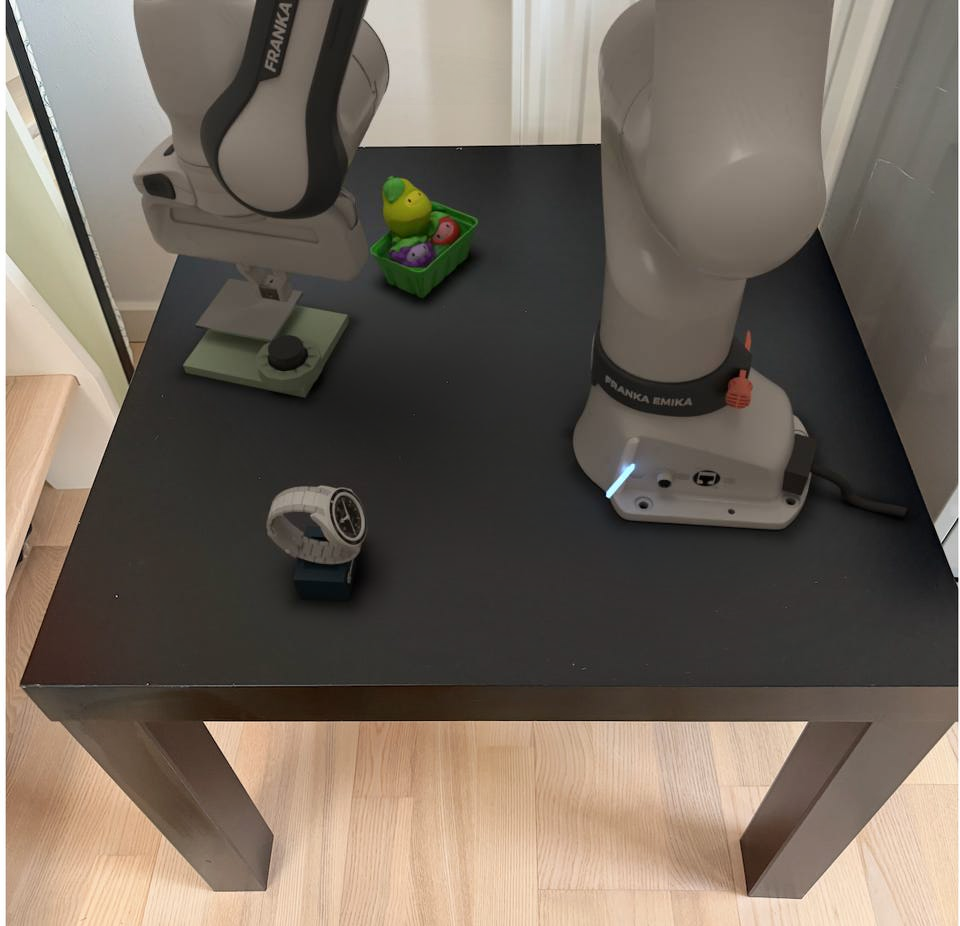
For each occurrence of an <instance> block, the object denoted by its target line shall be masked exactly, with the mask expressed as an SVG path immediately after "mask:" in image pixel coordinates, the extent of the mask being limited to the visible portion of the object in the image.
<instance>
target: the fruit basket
mask: <svg viewBox="0 0 960 926" xmlns="http://www.w3.org/2000/svg"><path fill="white" fill-rule="evenodd" d="M382 202H383V207H382V214H383V220H384V223H385V225H386V226H387V228H388V229H389V231H388V232H387V233H386V234H385V235H383V236H382V237H381V238H380V239H379V240H377V242H375V243H374V244H373V245H372V246H371V247H370V249H369V251H370V252H369V253H371V255H372V258H374V259H375V261H376V262H377V264H378V265H379V268H380V270H381V272H382V273H383V275H384V278H385V279H386V281H387V283H388V284H389V285H392V286H396V287H397V288H398V289H400V290H402V291H405V292H407V293H409V294H412V295H416V296H417V297H418V298H420V299H424V298H425V297H426V296H427V295H428V294H429V293H431V291H432V289H434V288H436V287H437V286H438V285H440V284H441V283H442V281H443V280H444V279H445V277H447V276H449V275H450V274H451V273H452V272H453V271H454V270H455V269H456V268H457V267H458V266H459V265H460V264H462V263H463V262H464V261H465V260H466V259H467V258H468V255H469V253H470V252H469V251H470V248H471V244H472V240H473V237H474V234H475V232H476V230H477V226H478V224H479V221H478V218H476V217H474V216H472V215H469V214H467V213H464V212H461V211H459V210H456V209H454V208H451V207H448V206H446V205H444V204H441V203H438V202H436V201H433V200H430V199H429V197H428V196H427V195H426V194H425V193H424V192H423V191H422V190H420V189H419V188H417V187H415V185H414V184H413V183H411V182H410V181H409V180H408V179H406V178H401V177H394V176H393V175H391V176H388V177H387V181H385V183H384V184H383V186H382Z"/></svg>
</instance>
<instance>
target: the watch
mask: <svg viewBox="0 0 960 926" xmlns="http://www.w3.org/2000/svg"><path fill="white" fill-rule="evenodd" d="M293 512H294V513H296V512H297V513H298V512H299V513H303V512H304V513H309V514H310V519H311V520H312V521H313V522H314V523H316V525H318V526H315V525H314V526H313V525H305V529H304V532H303V531H302V530H300V529H299V528H298V527H296V526H295V525H294V524H293V523H291V522H290V521H289V520H288V518H287V517H286V516H285V515H284V514H287V513H293ZM367 519H368V517H367V515H366V511H365V508H364V505H363V504H362V502H361V500H360V498H359V497H358V496H357V495H356V494H355V493H354V492H353V489H351V488H347V487H338V488H336V487H332V486H327V485H319V486H295V487H290V488H287V489H285V490H283V491H281V492H280V493H278V494H277V495H276V496H275V497H274V499H273V500H272V503H271V506H270V509H269V512H268V516H267V520H266V525H265V526H266V530H267V535H268V538H270V539H271V540H272V542H273V543H274V544H275V545H277V547H279V548H280V549H281V550H282V551H284V552H285V553H286V554H288V555H290V556H291V557H292V558H294V559H296V558H297V560H296V561H297V562H296V565H295V570H294V574H293V578H292V581H293V583H294V587H295V590H296V593H297V595H298V598H299V599H301V600H315V601H316V600H317V601H332V602H350V598H351V593H352V588H353V584H354V577H355V573H356V567H357V563H358V558H359V554H360V552H361V548H362V544H363V542H364V540H365V538H366V535H367V532H368V520H367Z"/></svg>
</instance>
